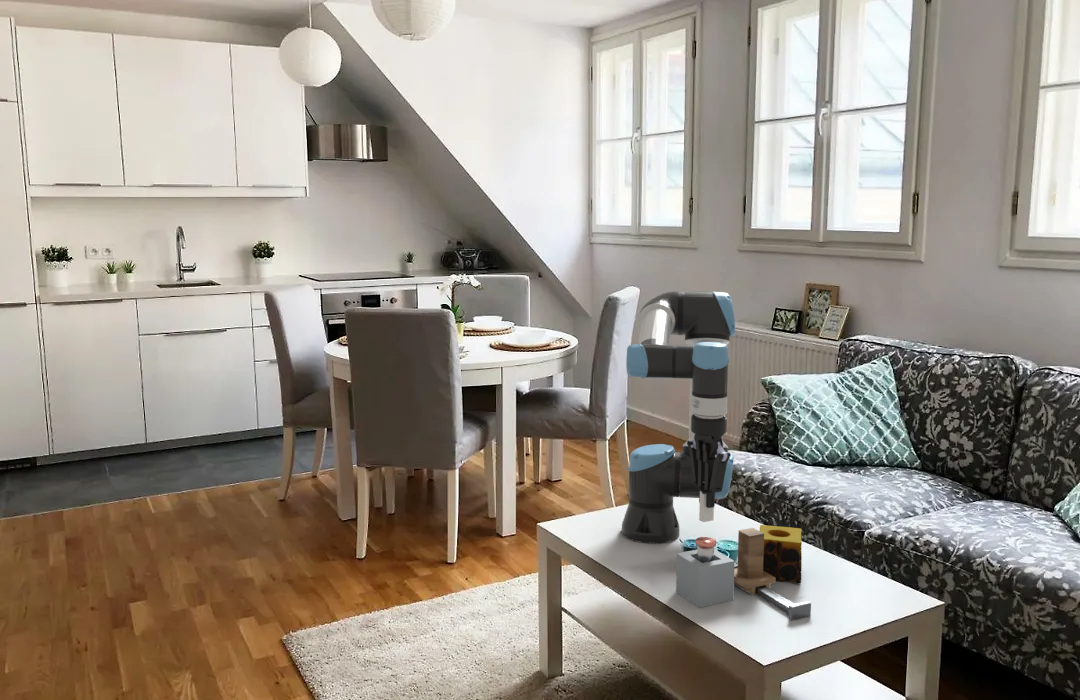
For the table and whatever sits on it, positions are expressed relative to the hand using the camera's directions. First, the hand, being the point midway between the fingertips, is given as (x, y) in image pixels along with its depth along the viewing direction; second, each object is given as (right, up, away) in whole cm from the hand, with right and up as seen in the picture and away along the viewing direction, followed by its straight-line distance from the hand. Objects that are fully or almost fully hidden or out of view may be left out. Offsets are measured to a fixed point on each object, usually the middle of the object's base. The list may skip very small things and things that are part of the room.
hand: (706, 520), depth 194 cm
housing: (0, -17, +3) cm, 18 cm away
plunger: (0, -8, +1) cm, 9 cm away
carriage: (+11, -17, +7) cm, 21 cm away
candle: (+20, -16, +15) cm, 29 cm away
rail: (+13, -17, +2) cm, 22 cm away
